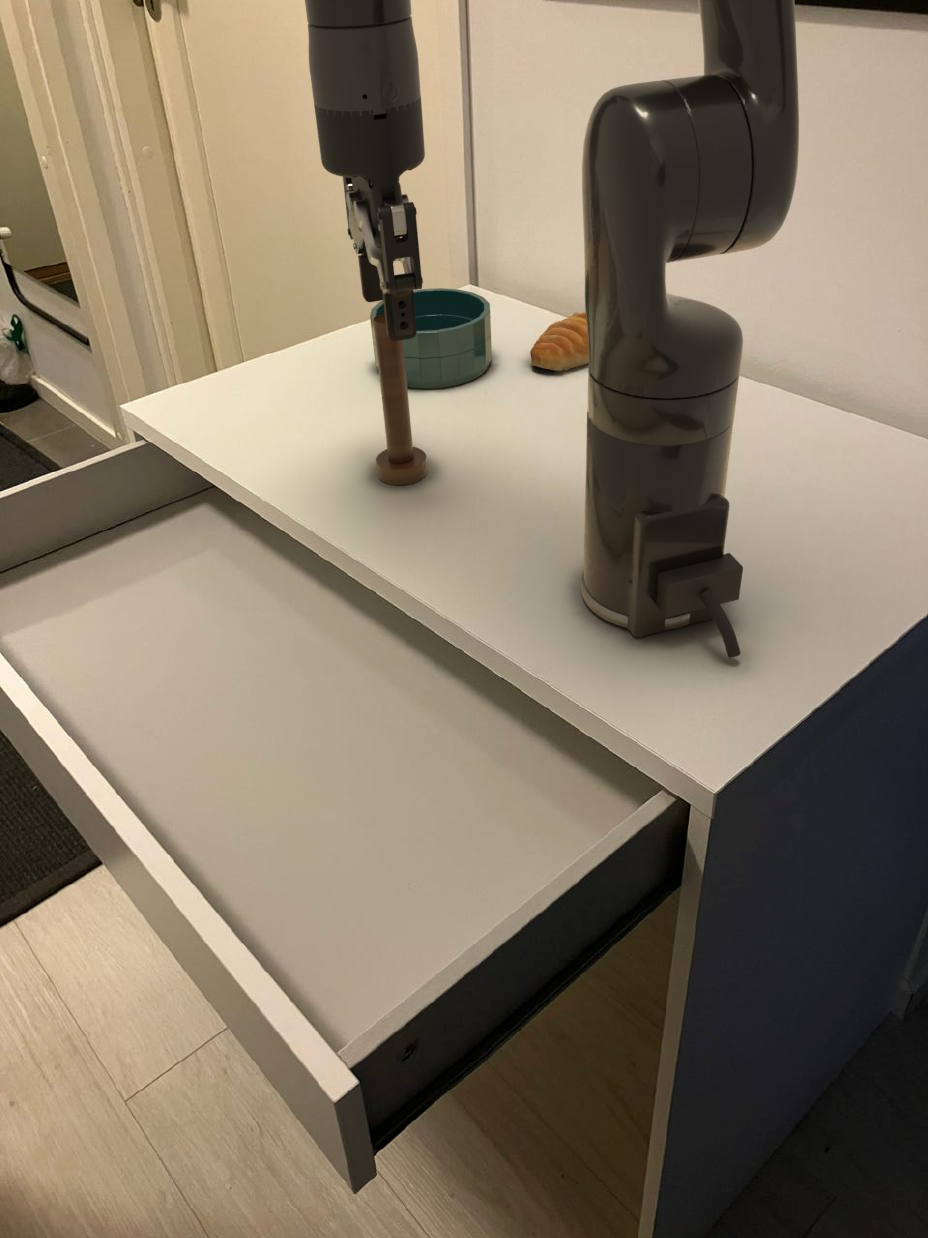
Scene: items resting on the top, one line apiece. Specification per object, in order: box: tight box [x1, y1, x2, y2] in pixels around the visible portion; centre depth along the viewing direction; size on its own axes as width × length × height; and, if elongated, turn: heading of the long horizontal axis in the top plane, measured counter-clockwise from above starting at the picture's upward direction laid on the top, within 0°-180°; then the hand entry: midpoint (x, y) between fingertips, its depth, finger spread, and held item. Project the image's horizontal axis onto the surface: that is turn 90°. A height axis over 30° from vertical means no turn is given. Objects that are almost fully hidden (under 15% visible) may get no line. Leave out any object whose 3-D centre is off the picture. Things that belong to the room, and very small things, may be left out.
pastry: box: [529, 311, 589, 373], centre depth 106 cm, size 9×7×4 cm
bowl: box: [369, 287, 493, 390], centre depth 105 cm, size 12×12×6 cm
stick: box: [373, 314, 428, 486], centre depth 85 cm, size 4×4×14 cm
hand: (389, 318), depth 81 cm, fingers open, 8 cm apart
